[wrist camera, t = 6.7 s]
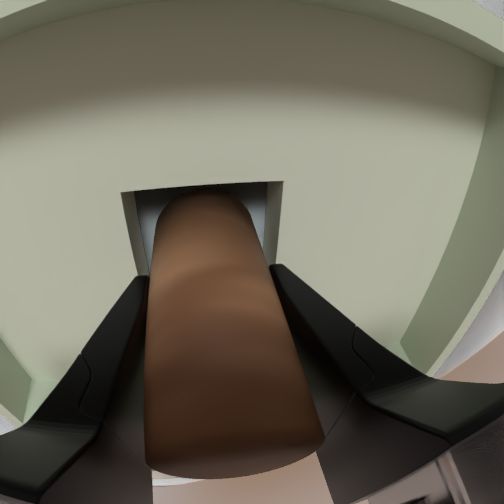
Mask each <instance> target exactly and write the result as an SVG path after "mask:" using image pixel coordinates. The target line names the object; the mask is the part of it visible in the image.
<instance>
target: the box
mask: <svg viewBox="0 0 504 504" xmlns="http://www.w3.org/2000/svg"><path fill="white" fill-rule="evenodd" d="M265 181H268V183H267V199H266V215H265V230H264V245H263V253H264V256H265V259H266V262H267V265H268V267H269V265H270V264H279V263H281V264H283V265H285V266H286V267H287V268H288V269H290V270H291V271H292V272H293V273H294V274H296V275H297V276H298V277H299V278H300V279H302V280H303V281H304V282H305V283H306V284H308V285H309V286H310V287H311V288H313V289H314V290H315V291H316V292H317V293H319V294H320V295H321V296H322V297H323V298H325V299H326V300H327V301H328V302H329V303H331V304H332V305H333V306H334V307H335V308H337V309H338V310H339V311H340V312H341V313H343V314H344V315H345V316H346V317H347V318H349V319H350V320H351V321H352V322H353V323H355V324H356V326H358V327H360V328H361V329H362V330H363V331H364V332H365V333H367V334H368V335H369V336H371V337H372V338H373V339H374V340H376V341H377V342H378V343H380V344H381V345H382V346H384V347H385V348H387V349H388V350H389V351H391V352H392V353H394V354H395V355H397V356H398V357H400V358H401V359H403V360H404V361H405V362H407V363H408V364H410V365H411V366H413V367H414V368H416V369H417V370H419V371H420V372H422V373H424V374H425V375H427V376H429V377H433V376H434V374H435V373H436V372H437V371H438V369H439V368H440V367H441V366H442V364H443V363H444V362H445V360H446V359H447V358H448V356H449V355H450V354H451V352H452V351H453V350H454V348H455V347H456V345H457V344H458V343H459V341H460V340H461V338H462V337H463V336H464V334H465V333H466V331H467V330H468V328H469V327H470V325H471V324H472V322H473V321H474V319H475V318H476V316H477V314H478V313H479V311H480V310H481V308H482V306H483V305H484V303H485V302H486V300H487V298H488V297H489V295H490V293H491V291H492V290H493V288H494V286H495V284H496V283H497V281H498V279H499V277H500V275H501V273H502V272H503V270H504V20H503V19H502V18H500V17H499V16H498V15H496V14H495V13H493V12H491V11H490V10H488V9H487V8H485V7H484V6H482V5H480V4H479V3H477V2H475V1H474V0H0V413H1V414H2V415H3V416H4V417H5V418H6V419H7V420H9V421H10V422H11V423H12V424H13V425H15V426H16V427H17V428H19V427H21V426H22V425H23V424H25V423H26V422H27V421H28V420H29V419H30V418H31V417H32V415H33V414H34V413H35V412H36V410H37V409H38V408H39V407H40V405H41V404H42V403H43V402H44V400H45V399H46V398H47V397H48V395H49V394H50V393H51V392H52V390H53V389H54V388H55V387H56V385H57V384H58V383H59V381H60V380H61V379H62V378H63V376H64V375H65V374H66V372H67V371H68V369H69V368H70V366H71V365H72V364H73V362H74V361H75V359H76V358H77V356H78V355H79V354H81V351H82V349H83V348H84V346H85V345H86V343H87V342H88V340H89V339H90V337H91V336H92V335H93V333H94V332H95V330H96V329H97V328H98V326H99V325H100V323H101V322H102V320H103V319H104V318H105V316H106V315H107V314H108V312H109V311H110V309H111V308H112V307H113V305H114V304H115V303H116V301H117V300H118V299H119V297H120V296H121V295H122V293H123V292H124V291H125V289H126V288H127V287H128V285H129V284H130V283H131V281H132V280H133V279H134V277H135V276H138V275H148V276H149V277H150V275H149V270H148V266H147V261H146V256H145V251H144V246H143V241H142V236H141V231H140V225H139V220H138V214H137V208H136V202H135V196H134V191H137V190H147V189H158V188H169V187H181V186H193V185H208V184H223V183H242V182H265Z"/></svg>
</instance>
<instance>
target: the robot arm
mask: <svg viewBox="0 0 504 504" xmlns="http://www.w3.org/2000/svg"><path fill="white" fill-rule="evenodd" d="M268 268H269V271H270V273H271V276H272V279H273V282H274V285H275V288H276V291H277V294H278V297H279V300H280V303H281V306H282V309H283V312H284V315H285V318H286V321H287V323H288V326H289V329H290V332H291V335H292V338H293V341H294V344H295V347H296V350H297V353H298V356H299V359H300V362H301V365H302V368H303V371H304V374H305V377H306V380H307V383H308V386H309V389H310V392H311V395H312V398H313V401H314V404H315V407H316V410H317V414H318V417H319V420H320V423H321V426H322V429H323V432H324V435H325V441H324V443H323V445H322V446H321V447H320V448H319V449H317V450H316V453H317V456H318V459H319V462H320V465H321V468H322V471H323V474H324V477H325V480H326V482H327V485H328V488H329V491H330V494H331V497H332V500H333V503H334V504H355V503H358V502H360V501H363V500H366V499H368V502H369V504H504V383H499V384H488V383H471V382H458V381H445V380H439V379H435V378H432V377H429V376H427V375H425V374H424V373H422V372H420V371H419V370H417V369H416V368H414V367H413V366H411V365H410V364H408V363H407V362H405V361H404V360H403V359H401V358H400V357H398V356H397V355H395V354H394V353H392V352H391V351H389V350H388V349H387V348H385V347H384V346H382V345H381V344H380V343H378V342H377V341H376V340H374V339H373V338H372V337H371V336H369V335H368V334H367V333H365V332H364V331H363V330H362V329H361V328H360V327H358V326H356V324H355V323H353V322H352V321H351V320H350V319H349V318H347V317H346V316H345V315H344V314H343V313H341V312H340V311H339V310H338V309H337V308H335V307H334V306H333V305H332V304H331V303H329V302H328V301H327V300H326V299H325V298H323V297H322V296H321V295H320V294H319V293H317V292H316V291H315V290H314V289H313V288H311V287H310V286H309V285H308V284H306V283H305V282H304V281H303V280H302V279H300V278H299V277H298V276H297V275H296V274H294V273H293V272H292V271H291V270H290V269H288V268H287V267H286V266H285V265H283V264H281V263H279V264H270V265H269V267H268ZM149 282H150V277H149V276H148V275H138V276H135V277H134V279H133V280H132V281H131V283H130V284H129V285H128V287H127V288H126V289H125V291H124V292H123V293H122V295H121V296H120V297H119V299H118V300H117V301H116V303H115V304H114V305H113V307H112V308H111V309H110V311H109V312H108V314H107V315H106V316H105V318H104V319H103V320H102V322H101V323H100V325H99V326H98V328H97V329H96V330H95V332H94V333H93V335H92V336H91V337H90V339H89V340H88V342H87V343H86V345H85V346H84V348H83V349H82V351H81V354H79V355H78V356H77V358H76V359H75V361H74V362H73V364H72V365H71V366H70V368H69V369H68V371H67V372H66V374H65V375H64V376H63V378H62V379H61V380H60V381H59V383H58V384H57V385H56V387H55V388H54V389H53V390H52V392H51V393H50V394H49V395H48V397H47V398H46V399H45V400H44V402H43V403H42V404H41V405H40V407H39V408H38V409H37V410H36V412H35V413H34V414H33V415H32V417H31V418H30V419H29V420H28V421H27V422H26V423H25V424H23V425H22V426H21V427H19V428H17V429H15V430H13V431H10V432H8V433H5V434H3V435H0V504H153V492H152V469H151V468H150V467H149V466H148V465H147V464H146V462H145V446H144V360H145V337H146V320H147V306H148V293H149Z"/></svg>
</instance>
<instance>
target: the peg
mask: <svg viewBox="0 0 504 504" xmlns="http://www.w3.org/2000/svg"><path fill="white" fill-rule="evenodd" d="M324 441H325V435H324V432H323V429H322V426H321V423H320V420H319V417H318V414H317V410H316V407H315V404H314V401H313V398H312V395H311V392H310V389H309V386H308V383H307V380H306V377H305V374H304V371H303V368H302V365H301V362H300V359H299V356H298V353H297V350H296V347H295V344H294V341H293V338H292V335H291V332H290V329H289V326H288V323H287V321H286V318H285V315H284V312H283V309H282V306H281V303H280V300H279V297H278V294H277V291H276V288H275V285H274V282H273V279H272V276H271V273H270V271H269V268H268V265H267V262H266V259H265V256H264V253H263V250H262V247H261V244H260V241H259V239H258V236H257V233H256V230H255V227H254V224H253V221H252V218H251V216H250V213H249V212H248V210H247V208H246V207H245V206H244V205H243V204H242V203H241V202H240V201H239V200H238V199H237V198H235V197H234V196H232V195H230V194H228V193H225V192H222V191H218V190H212V189H200V190H194V191H190V192H187V193H184V194H182V195H180V196H178V197H176V198H175V199H174V200H172V201H171V202H170V203H169V204H168V205H167V206H166V207H165V208H164V209H163V210H162V212H161V214H160V215H159V218H158V220H157V223H156V228H155V236H154V244H153V253H152V262H151V272H150V282H149V293H148V306H147V320H146V337H145V360H144V446H145V462H146V464H147V465H148V466H149V467H150V468H151V469H153V470H155V471H158V472H160V473H163V474H167V475H171V476H176V477H182V478H192V479H222V478H234V477H242V476H248V475H254V474H258V473H263V472H267V471H271V470H274V469H278V468H281V467H284V466H287V465H289V464H291V463H294V462H297V461H299V460H301V459H303V458H305V457H307V456H309V455H310V454H312V453H313V452H315V451H316V450H317V449H319V448H320V447H321V446H322V445H323V443H324Z"/></svg>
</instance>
